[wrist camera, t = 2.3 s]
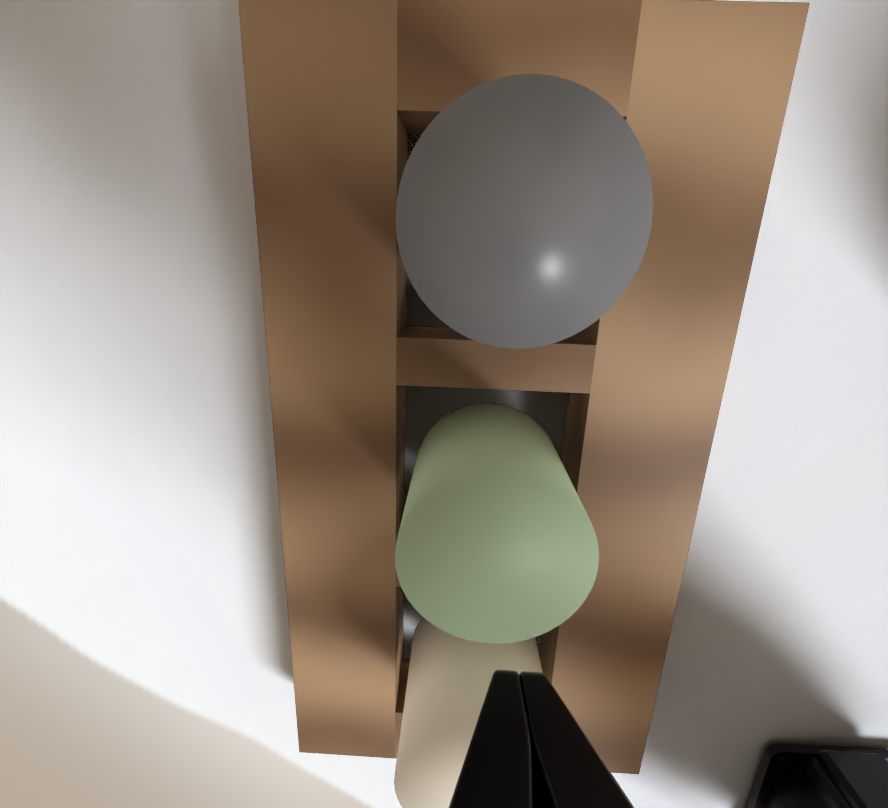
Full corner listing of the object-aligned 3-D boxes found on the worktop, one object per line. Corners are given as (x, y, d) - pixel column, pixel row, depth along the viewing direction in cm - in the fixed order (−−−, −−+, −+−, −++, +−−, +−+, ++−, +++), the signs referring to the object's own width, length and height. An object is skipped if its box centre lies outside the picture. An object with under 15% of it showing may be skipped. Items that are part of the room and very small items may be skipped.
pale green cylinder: (549, 535, 16) (585, 649, 12) (414, 528, 16) (394, 637, 12) (564, 406, 15) (612, 474, 10) (416, 400, 15) (395, 464, 10)
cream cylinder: (530, 697, 19) (554, 849, 14) (411, 690, 19) (394, 838, 14) (542, 598, 17) (572, 729, 12) (413, 591, 17) (394, 718, 13)
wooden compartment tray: (619, 716, 21) (638, 773, 19) (317, 697, 22) (299, 752, 19) (748, 48, 14) (809, 2, 11) (276, 37, 14) (237, -9, 12)
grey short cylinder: (574, 322, 14) (631, 353, 9) (417, 316, 14) (395, 343, 9) (595, 145, 13) (675, 77, 8) (420, 141, 13) (395, 70, 8)
